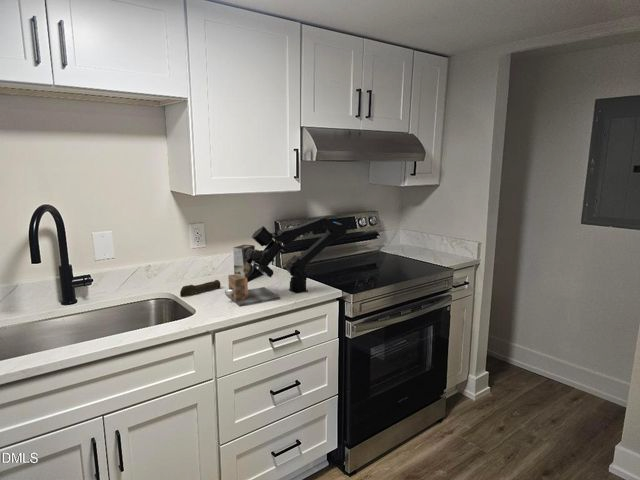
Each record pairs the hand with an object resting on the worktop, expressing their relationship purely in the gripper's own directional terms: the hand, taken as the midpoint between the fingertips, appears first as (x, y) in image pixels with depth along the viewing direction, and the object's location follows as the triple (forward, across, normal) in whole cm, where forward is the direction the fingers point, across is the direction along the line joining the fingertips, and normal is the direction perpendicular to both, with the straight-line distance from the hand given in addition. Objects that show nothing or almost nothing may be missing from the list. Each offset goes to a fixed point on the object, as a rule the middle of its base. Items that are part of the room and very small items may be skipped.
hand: (245, 281), depth 178 cm
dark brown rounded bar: (+15, -18, -4) cm, 24 cm away
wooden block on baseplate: (+3, 0, +7) cm, 8 cm away
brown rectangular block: (+7, 0, +1) cm, 7 cm away
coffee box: (-2, -29, +13) cm, 32 cm away
